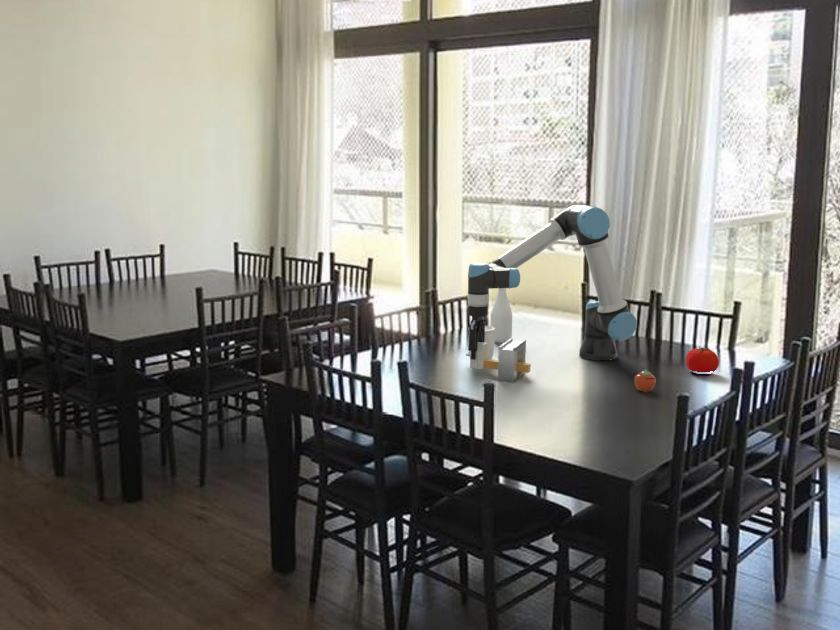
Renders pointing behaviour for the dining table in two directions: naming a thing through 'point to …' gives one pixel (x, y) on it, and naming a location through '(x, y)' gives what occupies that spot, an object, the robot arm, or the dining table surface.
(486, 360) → the plug
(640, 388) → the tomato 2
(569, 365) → the dining table surface
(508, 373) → the box
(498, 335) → the wine bottle
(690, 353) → the tomato
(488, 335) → the jar
